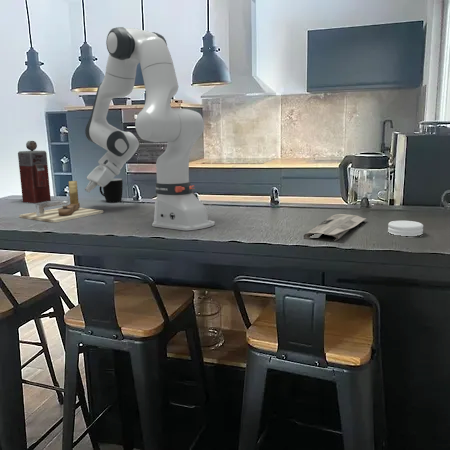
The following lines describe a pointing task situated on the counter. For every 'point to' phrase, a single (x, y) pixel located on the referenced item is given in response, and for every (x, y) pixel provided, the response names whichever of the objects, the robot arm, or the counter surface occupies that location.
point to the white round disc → (405, 228)
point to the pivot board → (55, 217)
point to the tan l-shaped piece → (71, 200)
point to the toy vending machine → (34, 174)
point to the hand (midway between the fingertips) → (86, 191)
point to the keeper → (41, 206)
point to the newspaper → (336, 225)
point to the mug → (113, 190)
